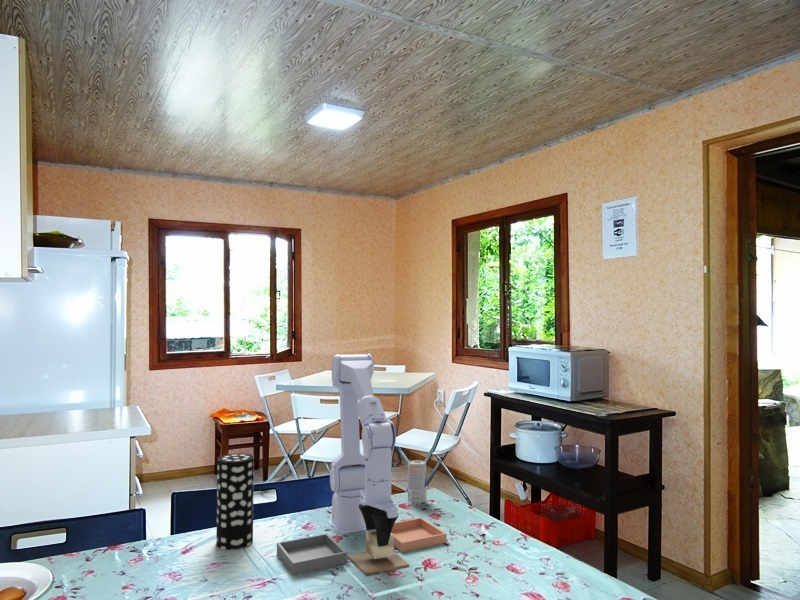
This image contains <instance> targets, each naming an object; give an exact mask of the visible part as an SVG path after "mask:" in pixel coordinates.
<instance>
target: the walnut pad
mask: <svg viewBox="0 0 800 600" xmlns="http://www.w3.org/2000/svg"><path fill="white" fill-rule="evenodd" d="M348 559H349V561H350V562H352V564H354V565H355V566H356V568H358V569H359V571H360V572H362V573H363V574H364V576H366V577H367V576H372V575H376V574H381V573H384V572H388V571H389V572H390V571H393V570H398V569H403V568H408V567H409V566H410V564H409V562H407V561H406V560H405V559H404V558H402V557H401V556H400V555H399V554H398V553H396V552H395V551H394V550H393V556H389V557H384V558H378V559H374V558H372V557H371V556H370V555H369V554H368V553H367V552H366V551H362V552H357V553H353V554H347V560H348Z"/></svg>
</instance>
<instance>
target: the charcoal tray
mask: <svg viewBox="0 0 800 600" xmlns="http://www.w3.org/2000/svg"><path fill="white" fill-rule="evenodd" d="M347 555H348V552H347V551H346V550H345V549H344V548H343V547H342V546H341V545H340V544H339V543H338V542H337V541H336V540H335V539H334V538H333V537H332V536H331V535H329V534H328V533H323V534H318V535H311V536H306V537H301V538H296V539H295V538H294V539H291V540H284V541H279V542H276V556H278V558H279V560H280V561H281V562H282V564H283V565H284V566H285V567H286V569H287V570H288V571H289V573H290V574H291V575H292V576H293V577H295V576H299V575H304V574H309V573H314V572H318V571H323V570H327V569H331V568H332V569H333V568H336V567H340V566H345V564H344V563H347V561H348V558H347Z"/></svg>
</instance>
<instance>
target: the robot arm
mask: <svg viewBox="0 0 800 600" xmlns="http://www.w3.org/2000/svg"><path fill="white" fill-rule="evenodd" d="M374 371H375V362H374V358H373V356H372V354H371V353H362V354H358V353H357V354H338V353H336V354H335V355H334V356H333V357H332V359H331V384H332V387H334V388H337V389H338V394H339V408H340V409H339V410H340V411H339V413H340V416H339V417H340V439H341V440H340V444H341V446H340V447H341V449H340V450H341V453H340V454H339V455H338V456H336V457H335V458H333V459H332V461H331V463H330V473H329V483H330V488H331V491H332V492H333V494H332V497H331V498H332V499H331V520H328V523H329V524H330V525H331V526H332V527H334V529H336V531H338V532H339V533H340V534H342V535H343V534H344V535H346V534H349V533H350V534H351V533H354V532H359V531H366V530H373V529H376V535H377V543H378V546H379V547H381V546H386V545H388V543H389V539H390V535H391V531H392V528H393V525H394V523H395V522H397V519H398V518H399V512H398V510H399V509H398V507H397V506H396V504H395V502H394V499H393V497H392V450H393V448H395V446H396V441H397V432H396V427H395V425H394V424H395V423H394V422H393V421H391V420H390V418H387V417H386V414H385V411H384V408H383V405H382V403H381V400H380V398H379V397H377V396H375V395H374V390H373V386H372V379H373V378H372V377H373V375H374ZM360 424H361V425H360ZM360 426H361V427H362V429H361V440H360ZM360 441H361V442H362V452H363V453H361V443H360Z"/></svg>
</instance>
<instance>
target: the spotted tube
mask: <svg viewBox="0 0 800 600" xmlns="http://www.w3.org/2000/svg"><path fill="white" fill-rule="evenodd" d="M254 467H255V456H254V454H250V453H241V452H240V453H239V452H238V453H229V454H224V455H223V454H222V455H221V456H219V457H217V468H216V469H217V472H216V474H217V475H216V476H217V477H216V478H217V480H216V483H217V485H216V535H215V539H216V545H215V546H216V547H217V548H219V549H221V550H227V551H229V550H230V551H233V550H240V549H244V548H246V547H249V546H250V545H252V544H253V542H254V488H255V487H254V481H255V479H254V478H255V477H254V475H255V468H254Z"/></svg>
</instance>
